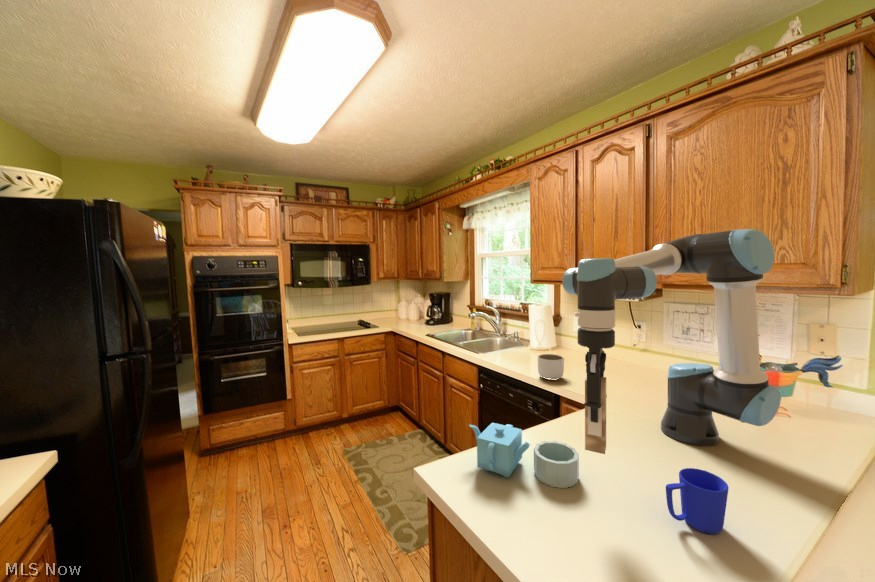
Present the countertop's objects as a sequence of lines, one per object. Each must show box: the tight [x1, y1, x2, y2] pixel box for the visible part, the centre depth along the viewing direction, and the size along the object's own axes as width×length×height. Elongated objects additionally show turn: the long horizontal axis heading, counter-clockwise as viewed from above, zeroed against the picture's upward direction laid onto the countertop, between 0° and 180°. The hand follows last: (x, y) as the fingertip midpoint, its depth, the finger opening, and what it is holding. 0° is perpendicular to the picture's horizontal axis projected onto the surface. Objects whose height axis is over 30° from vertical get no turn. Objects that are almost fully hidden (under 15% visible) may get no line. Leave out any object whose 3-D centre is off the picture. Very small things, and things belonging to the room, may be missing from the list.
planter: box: [537, 353, 565, 379], centre depth 168 cm, size 12×12×11 cm
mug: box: [665, 467, 729, 535], centre depth 71 cm, size 8×12×10 cm
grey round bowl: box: [533, 440, 580, 489], centre depth 89 cm, size 11×11×6 cm
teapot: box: [468, 422, 531, 478], centre depth 94 cm, size 16×18×11 cm
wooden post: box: [584, 376, 607, 455], centre depth 76 cm, size 4×4×16 cm
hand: (595, 429), depth 76 cm, fingers closed on wooden post, 4 cm apart
